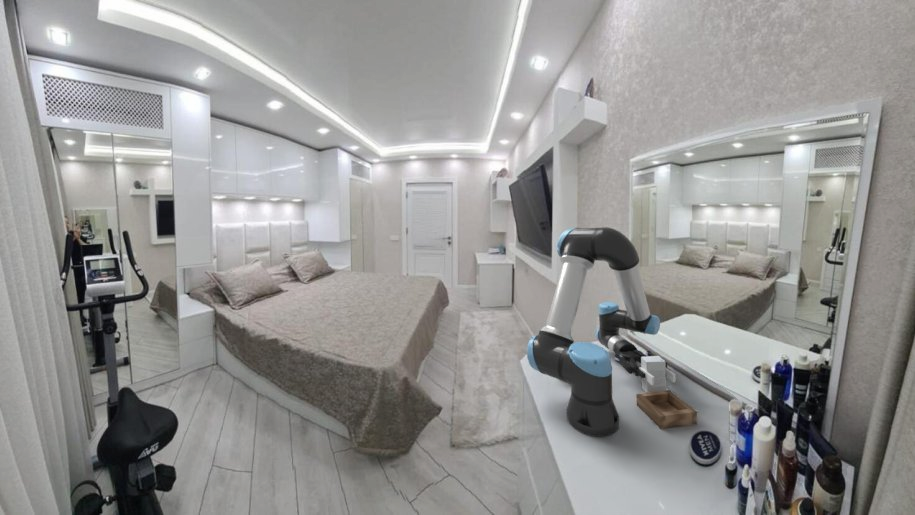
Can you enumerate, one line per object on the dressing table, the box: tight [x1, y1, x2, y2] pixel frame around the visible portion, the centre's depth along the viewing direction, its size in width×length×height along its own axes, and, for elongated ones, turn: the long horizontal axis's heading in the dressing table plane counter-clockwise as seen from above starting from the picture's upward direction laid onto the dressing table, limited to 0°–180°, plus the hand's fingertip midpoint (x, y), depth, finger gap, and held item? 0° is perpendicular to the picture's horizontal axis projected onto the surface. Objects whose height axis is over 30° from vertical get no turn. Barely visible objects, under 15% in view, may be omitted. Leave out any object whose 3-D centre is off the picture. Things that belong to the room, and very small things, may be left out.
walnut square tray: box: [636, 389, 698, 430], centre depth 95 cm, size 11×11×4 cm
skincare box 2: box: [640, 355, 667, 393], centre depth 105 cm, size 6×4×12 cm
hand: (663, 379), depth 100 cm, fingers closed on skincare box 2, 6 cm apart
